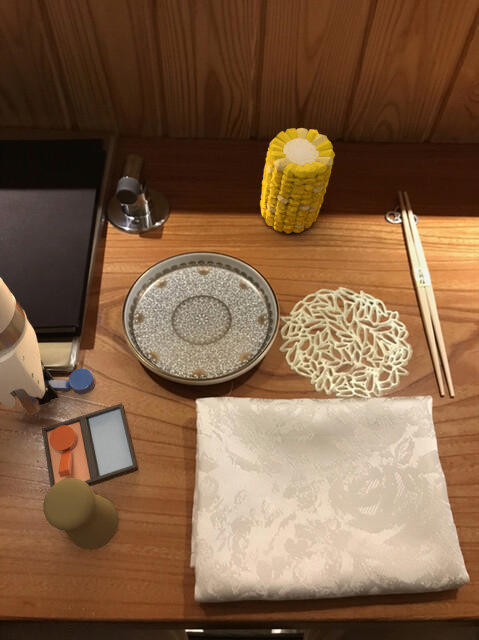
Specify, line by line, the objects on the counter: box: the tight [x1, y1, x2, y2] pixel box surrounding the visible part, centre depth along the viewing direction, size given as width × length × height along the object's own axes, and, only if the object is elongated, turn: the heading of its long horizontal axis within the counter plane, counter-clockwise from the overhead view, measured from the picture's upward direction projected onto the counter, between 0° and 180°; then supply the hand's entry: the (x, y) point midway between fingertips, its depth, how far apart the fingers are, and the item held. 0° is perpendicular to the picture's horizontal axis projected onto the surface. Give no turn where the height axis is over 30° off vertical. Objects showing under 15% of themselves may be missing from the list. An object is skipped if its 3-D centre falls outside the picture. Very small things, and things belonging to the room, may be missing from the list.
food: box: [259, 127, 336, 235], centre depth 83 cm, size 15×12×10 cm
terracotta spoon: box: [50, 425, 78, 477], centre depth 68 cm, size 7×3×4 cm, turn 18°
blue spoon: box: [44, 367, 96, 395], centre depth 74 cm, size 7×3×4 cm, turn 108°
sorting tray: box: [41, 402, 139, 488], centre depth 70 cm, size 10×9×1 cm
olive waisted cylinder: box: [42, 478, 120, 550], centre depth 61 cm, size 6×6×11 cm
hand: (45, 393), depth 74 cm, fingers closed on blue spoon, 1 cm apart
